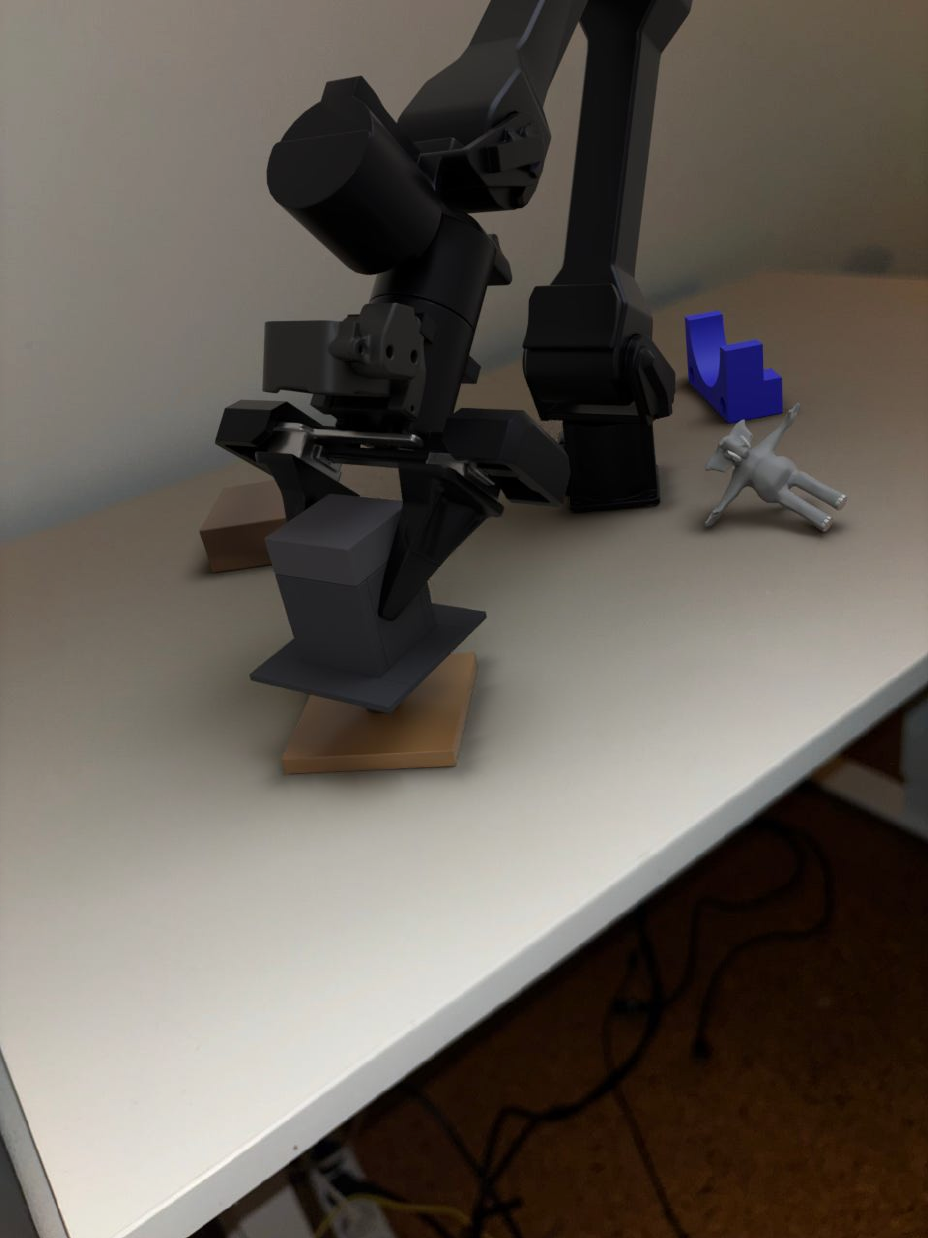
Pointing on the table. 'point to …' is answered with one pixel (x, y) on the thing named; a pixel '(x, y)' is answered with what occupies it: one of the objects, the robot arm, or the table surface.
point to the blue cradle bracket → (730, 371)
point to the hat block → (242, 526)
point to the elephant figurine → (769, 474)
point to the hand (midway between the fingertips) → (341, 610)
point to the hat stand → (387, 727)
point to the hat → (353, 609)
